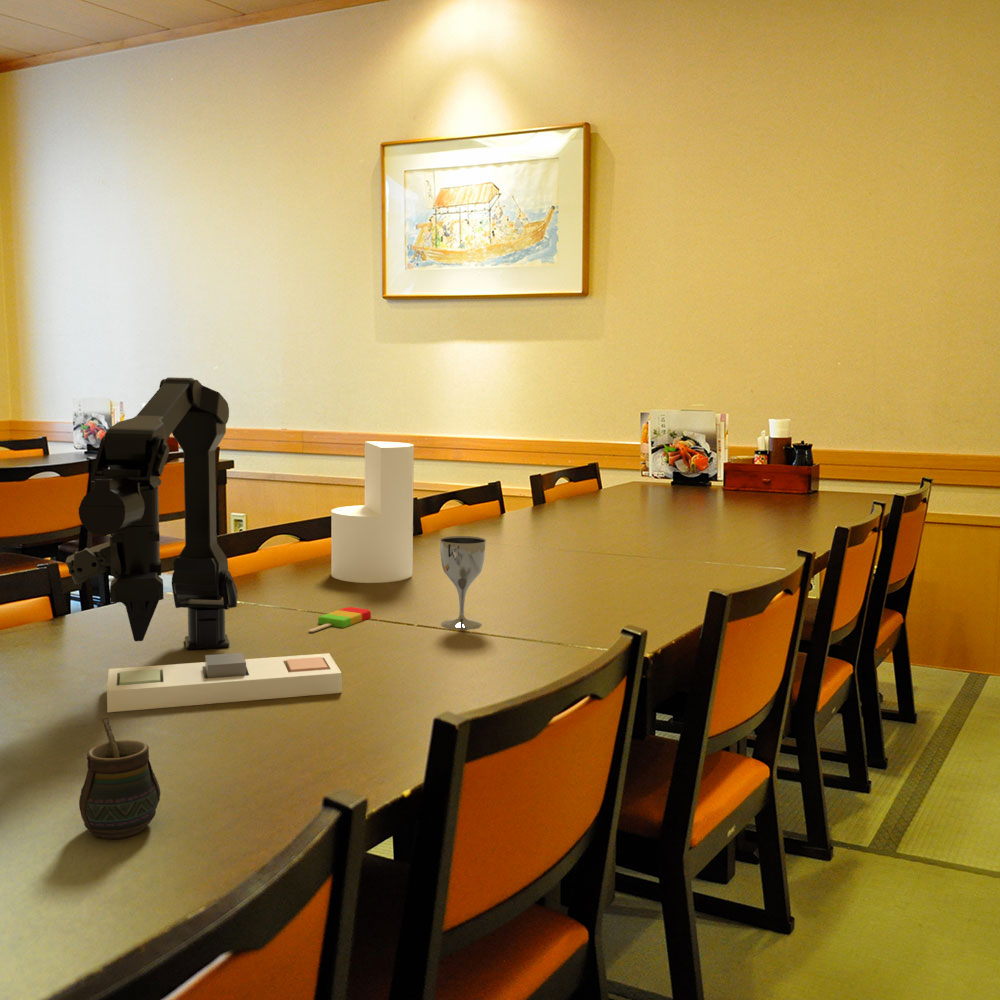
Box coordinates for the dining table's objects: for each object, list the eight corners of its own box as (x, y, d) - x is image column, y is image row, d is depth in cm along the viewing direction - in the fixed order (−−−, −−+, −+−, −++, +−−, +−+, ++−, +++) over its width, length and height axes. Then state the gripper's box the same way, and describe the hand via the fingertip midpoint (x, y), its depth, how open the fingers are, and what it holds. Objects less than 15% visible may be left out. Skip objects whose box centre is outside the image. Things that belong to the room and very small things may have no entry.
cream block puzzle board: (109, 688, 140) (109, 668, 140) (329, 671, 150) (329, 653, 149) (107, 712, 131) (106, 691, 130) (341, 692, 140) (341, 672, 140)
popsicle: (373, 619, 184) (373, 609, 183) (323, 638, 170) (323, 627, 170) (348, 615, 186) (348, 605, 186) (296, 634, 173) (296, 623, 172)
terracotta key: (286, 676, 145) (286, 659, 145) (321, 674, 147) (321, 657, 147) (291, 687, 141) (291, 669, 140) (327, 684, 142) (327, 666, 142)
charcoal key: (205, 672, 141) (205, 655, 141) (242, 670, 143) (242, 652, 143) (207, 683, 137) (207, 665, 136) (246, 680, 138) (246, 662, 138)
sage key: (120, 689, 138) (120, 671, 138) (160, 686, 140) (159, 668, 139) (120, 701, 133) (119, 682, 133) (160, 697, 135) (160, 679, 135)
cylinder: (402, 565, 231) (403, 441, 228) (420, 580, 215) (422, 447, 211) (325, 568, 226) (325, 441, 222) (338, 584, 209) (338, 447, 206)
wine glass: (462, 616, 185) (464, 534, 183) (493, 625, 179) (495, 540, 177) (429, 623, 179) (430, 538, 177) (459, 632, 174) (461, 545, 172)
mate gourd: (103, 854, 93) (98, 748, 92) (64, 829, 98) (59, 728, 97) (174, 828, 99) (171, 728, 97) (134, 806, 104) (130, 710, 102)
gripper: (73, 515, 139) (76, 627, 141) (63, 537, 122) (67, 664, 124) (159, 513, 143) (161, 622, 145) (162, 534, 126) (164, 658, 128)
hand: (138, 640), depth 135 cm, fingers closed
